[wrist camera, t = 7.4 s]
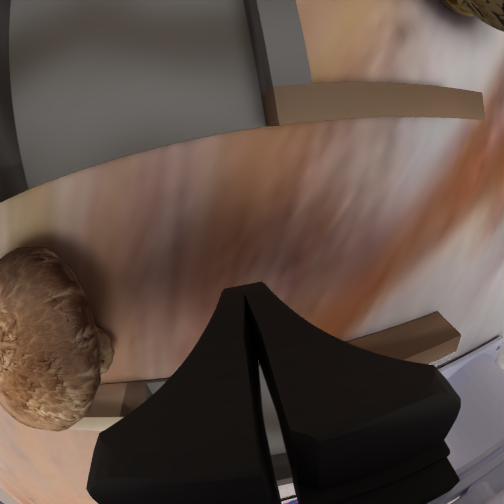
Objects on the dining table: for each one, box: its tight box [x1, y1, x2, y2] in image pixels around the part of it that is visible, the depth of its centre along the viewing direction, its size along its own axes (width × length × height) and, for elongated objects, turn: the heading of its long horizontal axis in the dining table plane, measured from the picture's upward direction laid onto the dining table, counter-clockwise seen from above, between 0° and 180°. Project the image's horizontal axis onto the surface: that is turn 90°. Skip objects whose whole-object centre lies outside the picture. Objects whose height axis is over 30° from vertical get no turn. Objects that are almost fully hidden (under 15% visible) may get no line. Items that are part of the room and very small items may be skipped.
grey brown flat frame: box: [0, 0, 485, 486], centre depth 12 cm, size 33×26×2 cm
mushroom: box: [0, 247, 114, 431], centre depth 10 cm, size 8×8×6 cm
